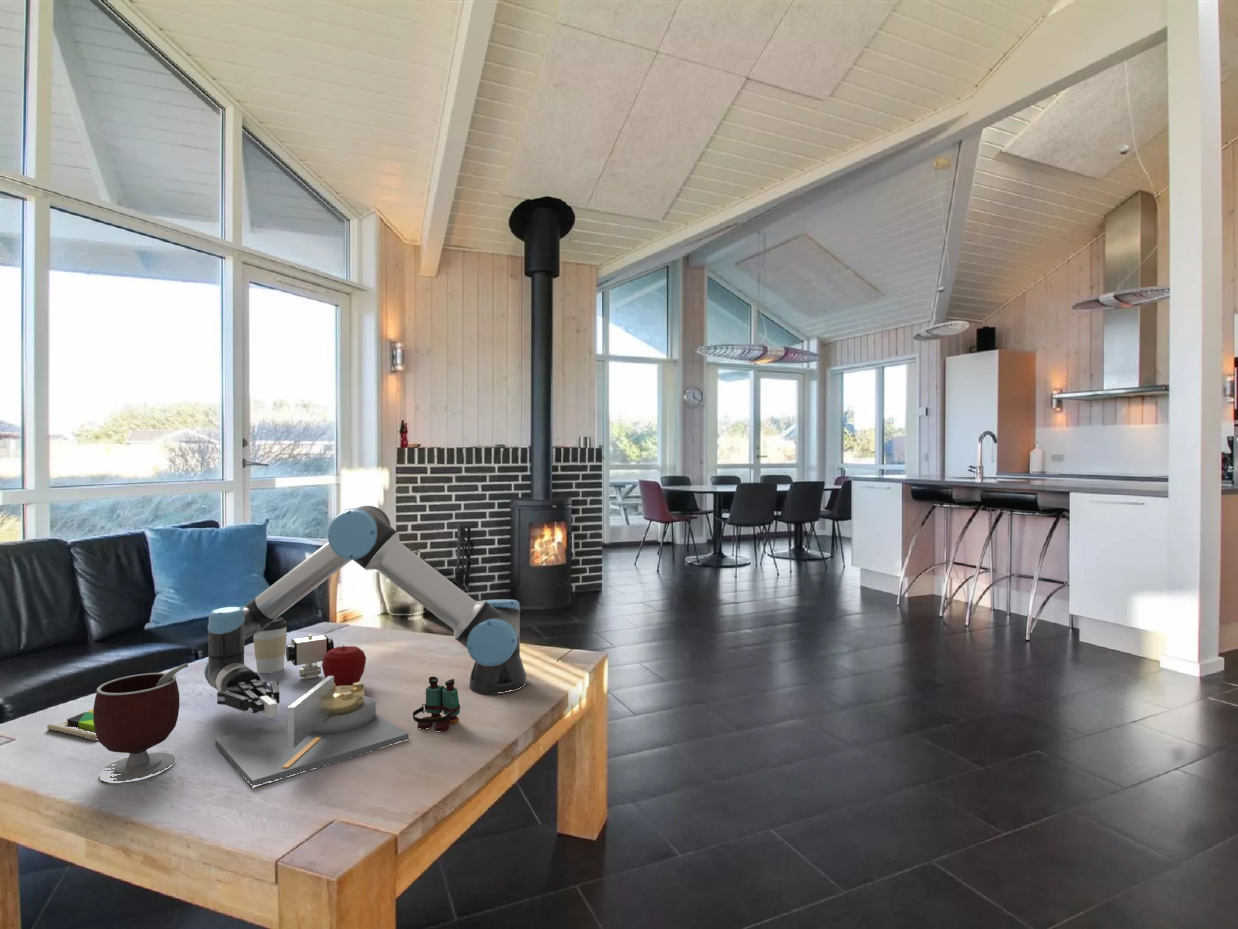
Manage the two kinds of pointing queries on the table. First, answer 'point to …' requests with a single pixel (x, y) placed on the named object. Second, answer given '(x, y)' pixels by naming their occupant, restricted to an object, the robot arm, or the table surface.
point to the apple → (344, 665)
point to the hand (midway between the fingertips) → (273, 710)
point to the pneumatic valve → (309, 654)
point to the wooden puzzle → (78, 725)
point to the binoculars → (439, 706)
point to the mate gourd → (137, 720)
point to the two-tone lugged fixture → (321, 707)
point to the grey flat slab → (308, 744)
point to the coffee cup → (271, 646)
